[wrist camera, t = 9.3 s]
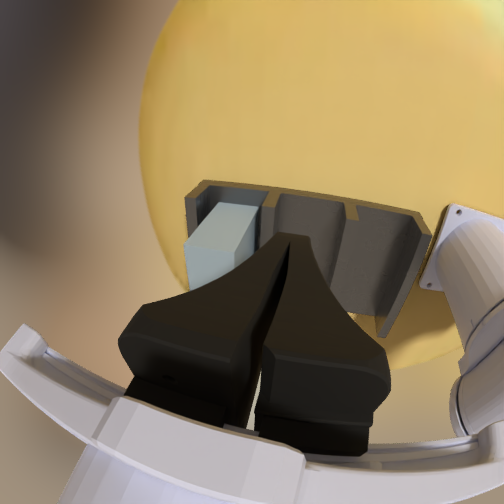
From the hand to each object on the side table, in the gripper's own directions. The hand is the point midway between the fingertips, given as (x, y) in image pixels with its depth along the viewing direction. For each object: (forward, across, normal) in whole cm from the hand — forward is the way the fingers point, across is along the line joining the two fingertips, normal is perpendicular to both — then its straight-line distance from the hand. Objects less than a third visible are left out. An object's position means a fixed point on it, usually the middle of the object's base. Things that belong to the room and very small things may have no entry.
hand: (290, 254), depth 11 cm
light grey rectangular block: (+8, +5, +5) cm, 11 cm away
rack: (+9, 0, +6) cm, 11 cm away
